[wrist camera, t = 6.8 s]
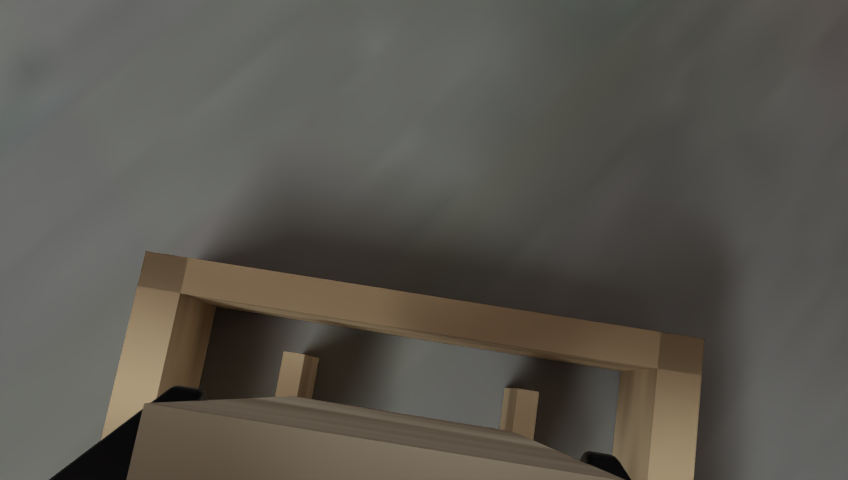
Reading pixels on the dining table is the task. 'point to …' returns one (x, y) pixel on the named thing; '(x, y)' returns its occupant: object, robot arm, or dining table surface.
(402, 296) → the frame
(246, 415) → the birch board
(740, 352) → the dining table surface
